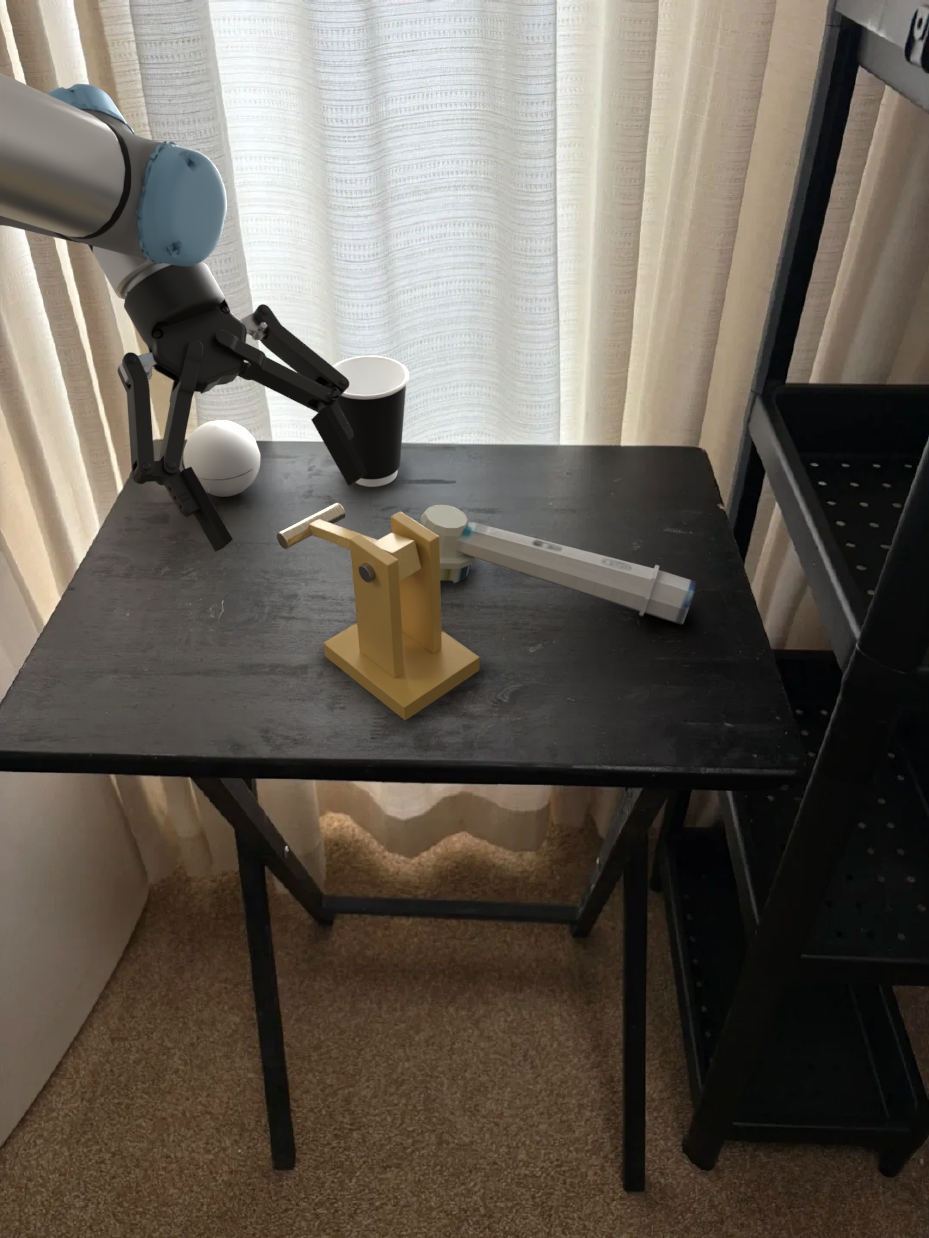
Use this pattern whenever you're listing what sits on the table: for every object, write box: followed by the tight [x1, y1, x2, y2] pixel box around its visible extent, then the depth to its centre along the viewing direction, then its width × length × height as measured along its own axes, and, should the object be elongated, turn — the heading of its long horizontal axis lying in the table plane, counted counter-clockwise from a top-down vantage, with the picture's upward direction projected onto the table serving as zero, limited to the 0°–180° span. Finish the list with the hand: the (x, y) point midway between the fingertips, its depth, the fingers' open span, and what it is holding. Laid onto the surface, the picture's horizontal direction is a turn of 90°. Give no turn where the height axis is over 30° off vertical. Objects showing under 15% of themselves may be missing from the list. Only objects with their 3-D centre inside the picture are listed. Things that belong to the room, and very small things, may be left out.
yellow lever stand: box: [322, 511, 481, 721], centre depth 81 cm, size 10×8×13 cm
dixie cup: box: [332, 355, 410, 488], centre depth 102 cm, size 8×8×11 cm
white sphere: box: [181, 419, 261, 498], centre depth 100 cm, size 10×7×7 cm
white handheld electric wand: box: [418, 504, 697, 626], centre depth 90 cm, size 5×7×25 cm
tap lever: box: [276, 502, 421, 581], centre depth 81 cm, size 13×6×2 cm, turn 43°
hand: (294, 511), depth 86 cm, fingers open, 13 cm apart
